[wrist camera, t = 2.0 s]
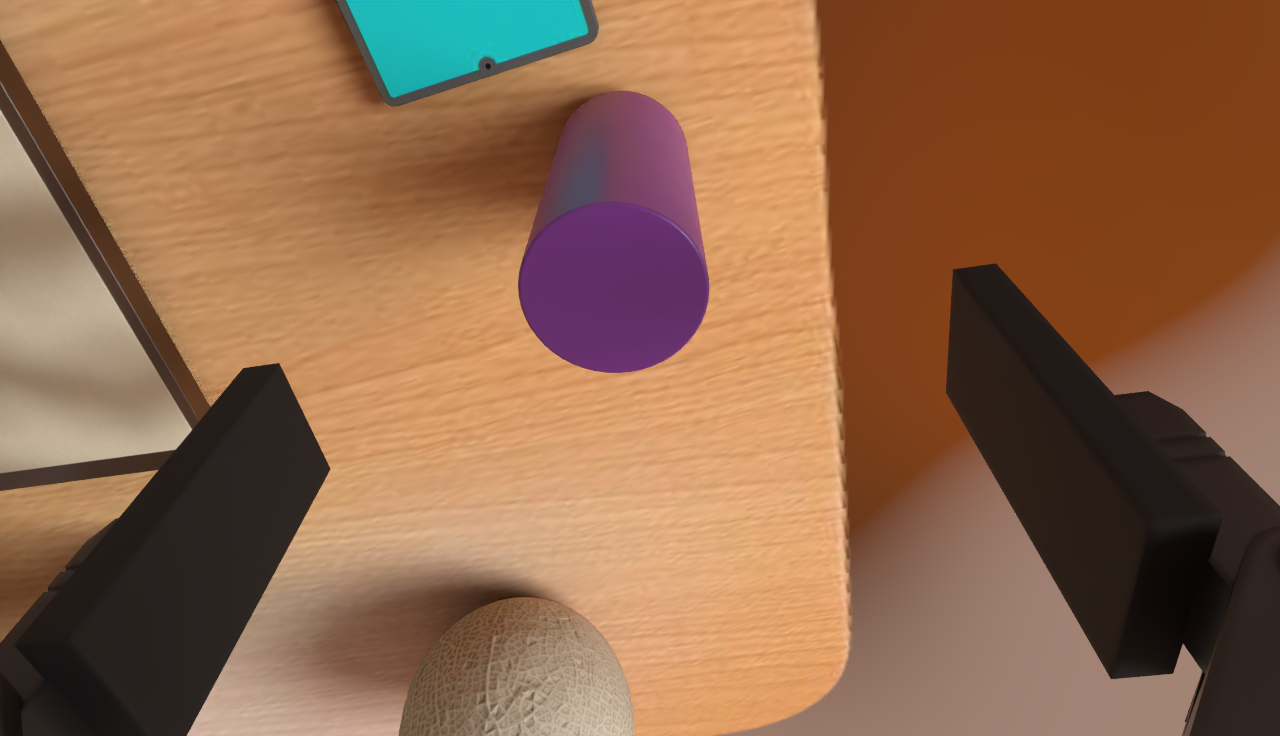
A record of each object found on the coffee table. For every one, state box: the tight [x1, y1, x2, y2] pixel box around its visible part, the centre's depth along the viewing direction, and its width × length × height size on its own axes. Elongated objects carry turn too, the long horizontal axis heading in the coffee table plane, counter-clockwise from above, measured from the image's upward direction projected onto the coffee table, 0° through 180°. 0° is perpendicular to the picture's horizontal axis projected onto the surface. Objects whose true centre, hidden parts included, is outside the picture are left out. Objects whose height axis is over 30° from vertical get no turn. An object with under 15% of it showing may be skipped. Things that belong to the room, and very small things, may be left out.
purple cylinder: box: [518, 91, 709, 373], centre depth 22 cm, size 4×4×11 cm
